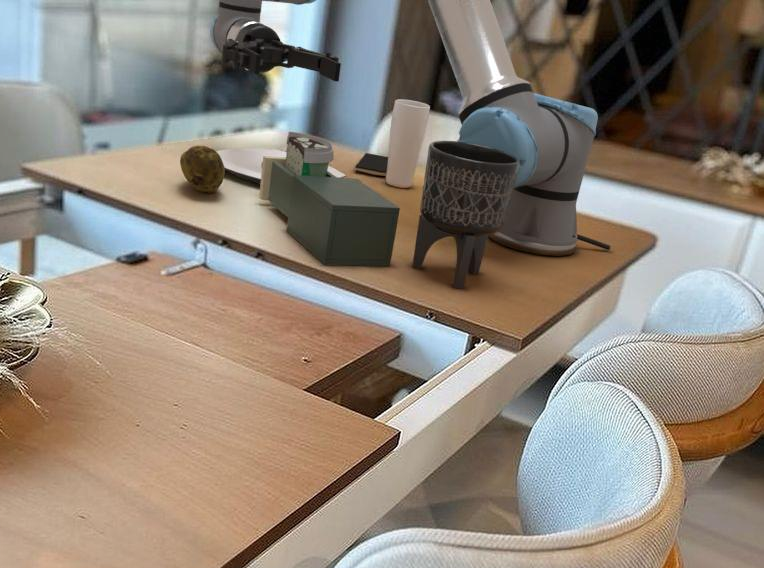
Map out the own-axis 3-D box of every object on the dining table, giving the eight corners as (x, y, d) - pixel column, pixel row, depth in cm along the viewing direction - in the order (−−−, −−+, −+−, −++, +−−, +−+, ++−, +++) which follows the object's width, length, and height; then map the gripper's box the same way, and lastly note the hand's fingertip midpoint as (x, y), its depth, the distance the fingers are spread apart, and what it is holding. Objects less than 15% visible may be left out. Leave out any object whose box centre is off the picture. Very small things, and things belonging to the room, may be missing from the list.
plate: (360, 187, 189) (362, 177, 188) (273, 197, 173) (274, 186, 172) (274, 156, 200) (275, 145, 199) (184, 162, 184) (185, 151, 183)
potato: (233, 188, 174) (237, 140, 170) (216, 205, 163) (221, 154, 159) (186, 179, 174) (189, 131, 170) (166, 196, 163) (169, 145, 159)
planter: (395, 275, 146) (417, 148, 137) (420, 255, 156) (443, 136, 147) (481, 297, 143) (510, 169, 134) (500, 275, 154) (529, 155, 145)
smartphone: (400, 159, 210) (391, 173, 197) (399, 164, 211) (390, 179, 198) (365, 152, 211) (354, 166, 198) (364, 158, 211) (354, 172, 198)
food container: (335, 217, 160) (344, 152, 155) (297, 214, 158) (305, 148, 153) (316, 196, 170) (324, 134, 165) (280, 193, 168) (287, 130, 163)
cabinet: (286, 231, 156) (293, 174, 152) (348, 233, 161) (356, 178, 156) (324, 265, 145) (332, 204, 140) (390, 266, 149) (400, 207, 145)
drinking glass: (422, 189, 195) (437, 108, 187) (394, 190, 191) (409, 106, 184) (401, 180, 199) (415, 99, 192) (374, 180, 196) (387, 98, 188)
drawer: (249, 189, 171) (253, 148, 168) (300, 192, 175) (305, 151, 172) (289, 224, 157) (294, 180, 153) (344, 226, 160) (351, 183, 157)
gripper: (317, 75, 183) (365, 99, 167) (183, 62, 173) (220, 86, 157) (323, 30, 179) (372, 50, 163) (186, 14, 169) (224, 34, 153)
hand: (298, 68), depth 160 cm, fingers open, 13 cm apart
